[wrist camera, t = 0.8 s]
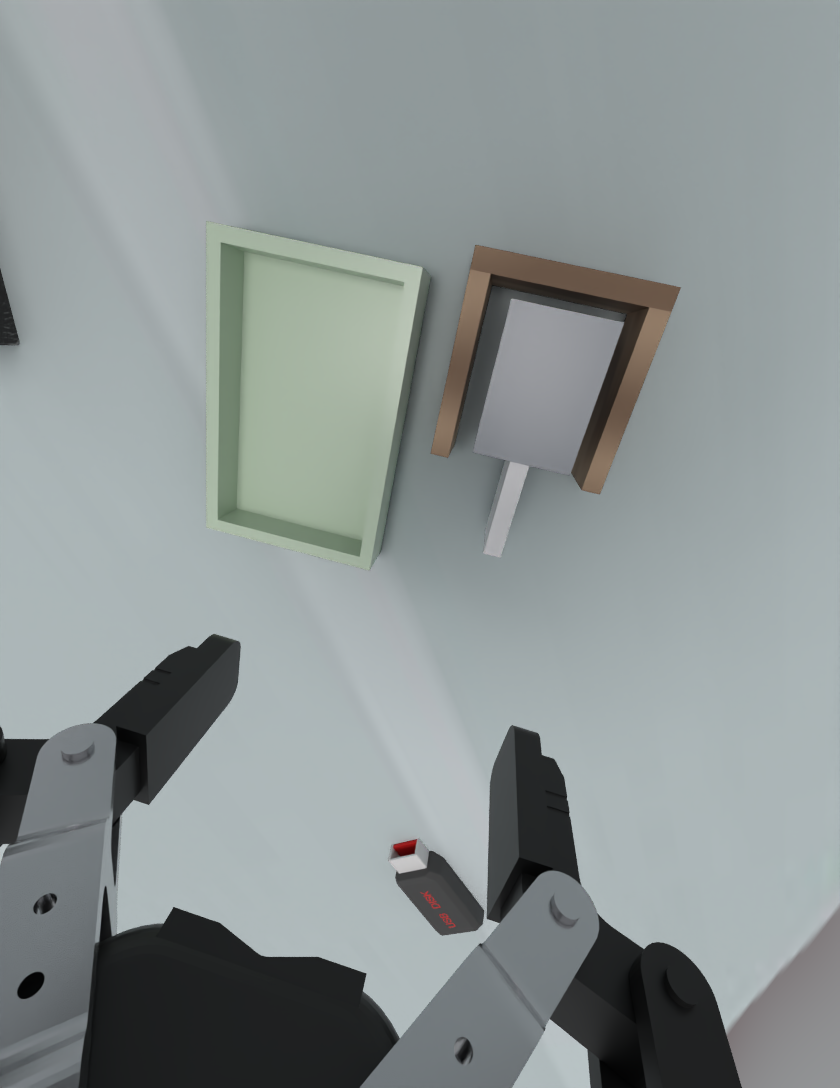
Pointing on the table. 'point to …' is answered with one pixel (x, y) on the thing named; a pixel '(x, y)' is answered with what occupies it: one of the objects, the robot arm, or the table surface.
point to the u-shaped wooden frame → (578, 285)
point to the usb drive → (435, 889)
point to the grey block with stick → (540, 399)
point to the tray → (306, 390)
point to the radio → (6, 319)
